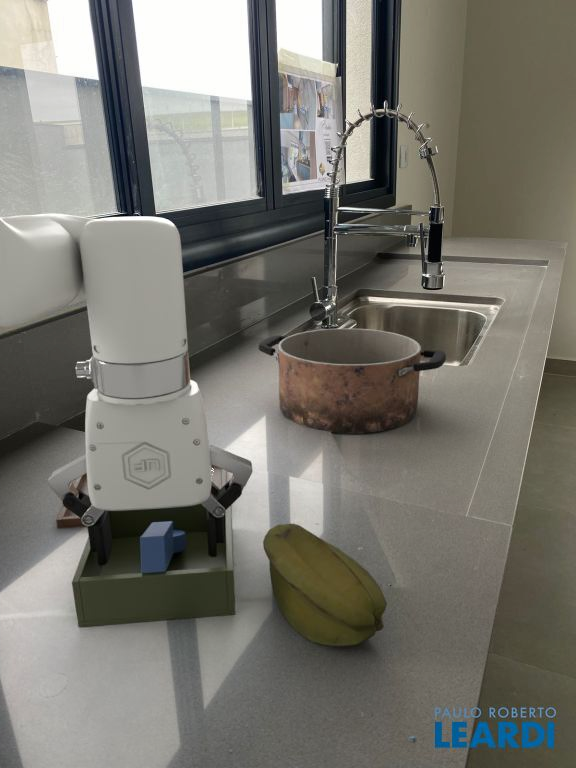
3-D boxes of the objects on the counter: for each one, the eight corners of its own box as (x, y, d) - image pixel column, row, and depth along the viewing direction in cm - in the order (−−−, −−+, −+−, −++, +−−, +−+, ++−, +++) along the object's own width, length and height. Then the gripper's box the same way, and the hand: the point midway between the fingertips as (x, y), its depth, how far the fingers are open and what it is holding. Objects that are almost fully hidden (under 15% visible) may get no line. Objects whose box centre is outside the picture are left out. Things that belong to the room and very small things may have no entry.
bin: (78, 627, 51) (71, 582, 49) (106, 539, 63) (101, 501, 62) (235, 614, 52) (233, 570, 51) (232, 531, 65) (230, 493, 63)
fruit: (237, 650, 48) (233, 580, 46) (274, 562, 59) (272, 502, 57) (381, 673, 46) (384, 600, 44) (392, 577, 57) (395, 515, 55)
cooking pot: (234, 419, 95) (231, 353, 91) (289, 378, 114) (289, 322, 111) (426, 449, 83) (431, 375, 80) (451, 397, 103) (456, 336, 99)
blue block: (129, 574, 50) (127, 538, 50) (147, 547, 61) (146, 517, 61) (177, 571, 50) (176, 534, 51) (187, 544, 61) (186, 514, 61)
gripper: (19, 393, 45) (51, 585, 51) (251, 382, 47) (257, 570, 52) (46, 364, 52) (71, 536, 58) (247, 356, 54) (252, 524, 59)
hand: (159, 552), depth 55 cm, fingers open, 9 cm apart
